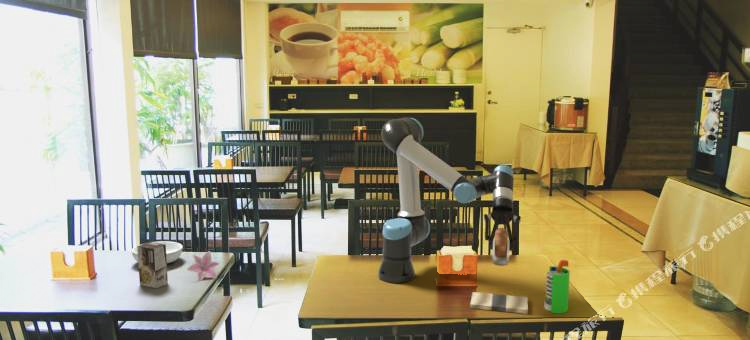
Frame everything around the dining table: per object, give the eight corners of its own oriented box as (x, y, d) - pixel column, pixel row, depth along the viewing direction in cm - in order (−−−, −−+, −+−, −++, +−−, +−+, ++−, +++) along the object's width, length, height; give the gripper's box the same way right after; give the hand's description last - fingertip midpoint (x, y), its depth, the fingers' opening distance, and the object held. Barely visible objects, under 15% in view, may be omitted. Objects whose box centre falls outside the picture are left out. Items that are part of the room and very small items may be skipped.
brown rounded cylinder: (493, 265, 206) (494, 229, 204) (493, 260, 211) (494, 225, 209) (507, 266, 205) (509, 230, 202) (507, 261, 210) (509, 226, 207)
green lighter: (540, 303, 211) (543, 256, 208) (561, 302, 212) (564, 255, 209) (549, 313, 202) (552, 264, 199) (572, 312, 203) (575, 264, 200)
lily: (183, 283, 231) (187, 266, 226) (189, 263, 241) (194, 246, 236) (212, 290, 234) (218, 273, 229) (218, 270, 244) (223, 254, 239)
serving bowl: (173, 270, 242) (172, 255, 241) (124, 270, 243) (123, 254, 242) (189, 255, 263) (189, 241, 262) (144, 255, 263) (143, 240, 262)
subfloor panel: (470, 308, 206) (470, 304, 206) (472, 295, 218) (472, 292, 217) (527, 313, 202) (527, 309, 201) (526, 301, 213) (527, 297, 213)
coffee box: (168, 283, 228) (166, 244, 225) (156, 288, 222) (154, 248, 219) (151, 279, 231) (149, 241, 229) (138, 285, 226) (136, 245, 223)
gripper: (526, 208, 218) (525, 264, 205) (479, 206, 222) (476, 260, 208) (527, 197, 212) (526, 254, 199) (479, 195, 216) (475, 251, 202)
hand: (500, 257), depth 204 cm, fingers closed on brown rounded cylinder, 4 cm apart
